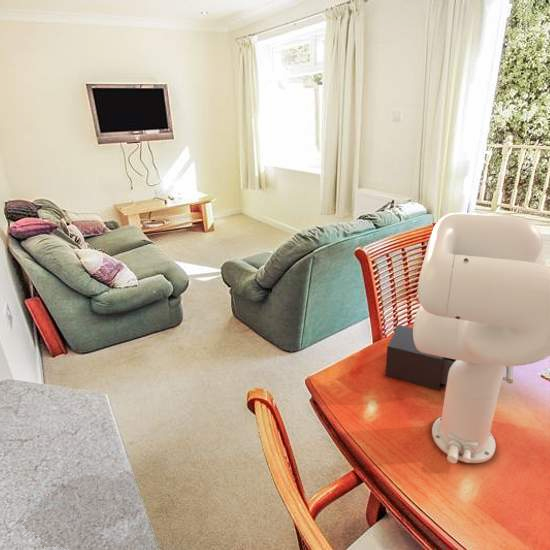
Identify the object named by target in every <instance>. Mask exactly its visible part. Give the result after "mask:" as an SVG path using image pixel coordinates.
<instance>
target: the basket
mask: <svg viewBox="0 0 550 550" xmlns="http://www.w3.org/2000/svg"><path fill="white" fill-rule="evenodd" d="M455 361H456V360H455V359H450V358H445V357H444V359H443V364H442V371H441V378H440V385H445V386H446V385H447V378H448V372H449V369H450V367H451V366H452V364H453V363H454V362H455ZM505 372H506V374H505V376H503V379H502V381H506V383H508V384H512V383H513V382H514V366H507V367H506V370H505Z"/></svg>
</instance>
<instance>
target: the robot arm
mask: <svg viewBox="0 0 550 550" xmlns="http://www.w3.org/2000/svg"><path fill="white" fill-rule="evenodd" d="M543 245H544V238H543V234H542V232H541V231H540V228H538V227H537V225H535V224H534V223H533V222H532V221H530V220H528V219H526V218H523V217H520V216H516V215H515V216H514V215H508V214H492V213H491V214H488V213H487V214H486V213H467V212H451V213H448V214H445V215H444V216H443V217H441V218H440V219H439V220H438V222H437V223H436V224H435V225H434V227H433V229H432V232H431V234H430V236H429V239H428V242H427V246H426V249H425V255H424V257H423V262H422V265H421V269H420V273H419V277H418V283H417V296H418V302H419V304H420V306H419V307H418V309H417V311H416V313H415V316H414V320H413V325H412V328H413V339H414V344H415V346H416V348H417V350H418V351H420V352H422V353H425V354H430V355H435V356H440V357H445V358H450V359H455V360H456V361H455V362H454V363H453V364H452V366H451V367H450V369H449V372H448V378H447V385H445V392H444V398H443V406H442V410H441V411H442V412H441V416H440V417H438V418H437V419H436V420H434V422H433V424H432V426H431V436H432V439H433V441H434V443H435V444H436V446H437V447H438V448H439V449H440V450H441V451H442V452H443V453H445V454H446V455H447V456H446V460H447V461H448V463H450V464H454V465H455V464H457V463H458V461H460V462H463V463H466V464H480V463H485V462H487V461H489V460H490V459H491V458H492V457H493V456H494V454H495V452H496V447H497V445H496V440H495V437H494V436H493V434H492V433H491V429H492V425H493V421H494V417H495V413H496V408H497V404H498V400H499V395H500V391H501V386H502V383H503V380H502V379H503V377H504V375H505V372H506V370H507V368H506V367H507V366H513V367H519V366H527V365H531V364H536V363H538V362H540V361H544V360H546V359H547V358H549V357H550V266H548V265H545V256H544V254H543Z"/></svg>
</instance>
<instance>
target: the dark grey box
mask: <svg viewBox="0 0 550 550" xmlns="http://www.w3.org/2000/svg"><path fill="white" fill-rule="evenodd" d="M443 359H444V357H440V356H435V355H430V354H425V353H422V352H420V351H418V350H417V348H416V346H415V344H414V339H413V327H409V326H404V325H400V324H397V327H396V329H395V330H394V332H393V334H392V336H391V338H390V340H389V342H388V344H387V348H386V362H385V377H389V378H392V379H393V378H394V379H397V380H400V381H404V382H407V383H410V384H415V385H417V386H422V387H424V388H429V389H432V390H435V391H439V390H440V386H441V383H440V378H441V371H442V364H443Z"/></svg>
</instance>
